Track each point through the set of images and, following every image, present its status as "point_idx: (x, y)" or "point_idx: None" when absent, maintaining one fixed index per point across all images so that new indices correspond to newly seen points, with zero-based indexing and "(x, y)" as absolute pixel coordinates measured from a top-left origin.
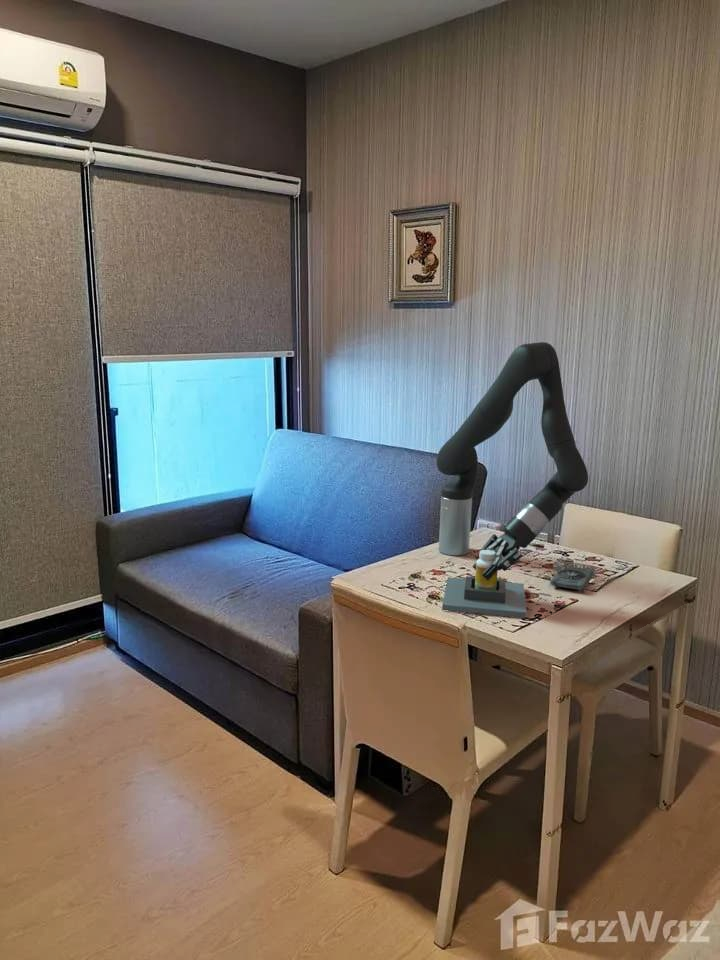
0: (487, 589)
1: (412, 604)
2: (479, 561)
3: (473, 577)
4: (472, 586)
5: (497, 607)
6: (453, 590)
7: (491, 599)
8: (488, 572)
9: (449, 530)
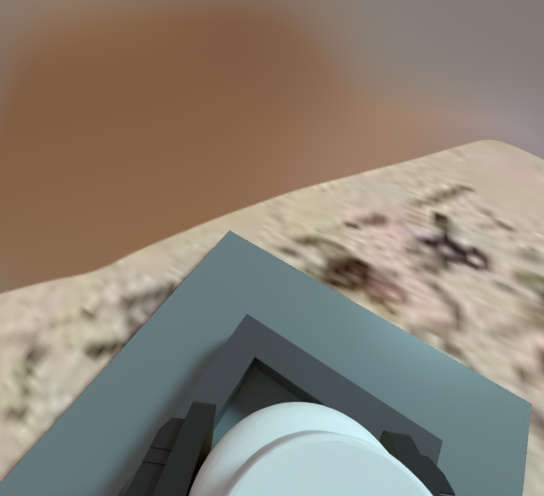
0: None
1: (304, 194)
2: (301, 418)
3: None
4: None
5: (83, 431)
6: (351, 336)
7: None
8: (160, 445)
9: None
